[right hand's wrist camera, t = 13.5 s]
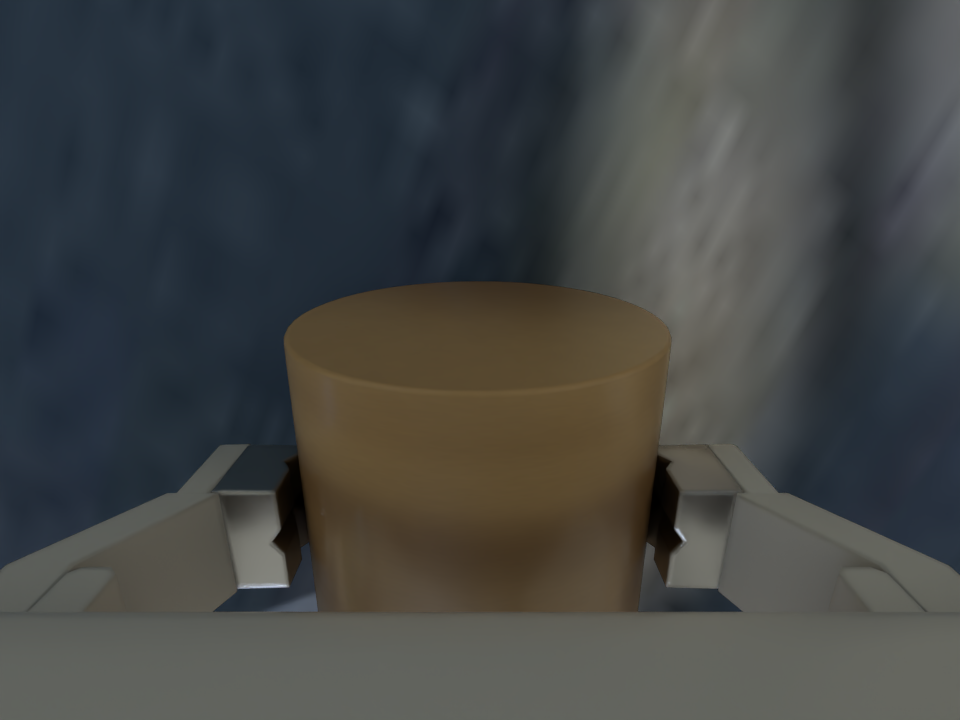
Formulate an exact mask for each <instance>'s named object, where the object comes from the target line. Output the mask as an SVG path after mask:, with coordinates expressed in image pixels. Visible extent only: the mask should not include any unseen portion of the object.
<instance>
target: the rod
mask: <svg viewBox="0 0 960 720" xmlns="http://www.w3.org/2000/svg"><path fill="white" fill-rule="evenodd" d="M284 350H285V358H286V365H287V373H288V381H289V389H290V396H291V404H292V412H293V420H294V428H295V435H296V443H297V451H298V459H299V467H300V474H301V482H302V490H303V498H304V506H305V513H306V521H307V529H308V537H309V545H310V552H311V560H312V568H313V576H314V583H315V591H316V599H317V607H318V612H638V606H639V598H640V590H641V582H642V574H643V566H644V558H645V550H646V542H647V534H648V526H649V518H650V510H651V502H652V494H653V486H654V478H655V470H656V462H657V454H658V446H659V438H660V430H661V422H662V414H663V406H664V398H665V390H666V382H667V374H668V366H669V358H670V350H671V335H670V332H669V330H668V328H667V326H666V325H665V324H664V323H663V322H662V321H661V320H660V319H659V318H658V317H656V316H655V315H653V314H652V313H650V312H648V311H646V310H644V309H643V308H640V307H638V306H635V305H633V304H631V303H628V302H625V301H622V300H619V299H616V298H613V297H609V296H605V295H602V294H598V293H593V292H588V291H584V290H578V289H572V288H566V287H558V286H551V285H541V284H531V283H517V282H491V281H466V282H440V283H425V284H415V285H406V286H398V287H391V288H384V289H379V290H373V291H368V292H363V293H359V294H355V295H351V296H347V297H343V298H340V299H337V300H334V301H331V302H328V303H325V304H323V305H320V306H318V307H316V308H313V309H311V310H310V311H308V312H306V313H304V314H302V315H301V316H300V317H298V318H297V319H295V320H294V321H293V322H292V323H291V324H290V326H289V327H288V329H287V331H286V333H285V336H284Z"/></svg>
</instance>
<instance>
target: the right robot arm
mask: <svg viewBox="0 0 960 720" xmlns="http://www.w3.org/2000/svg"><path fill="white" fill-rule="evenodd" d="M308 542H309V537H308V529H307V521H306V513H305V506H304V498H303V490H302V482H301V474H300V467H299V459H298V451H297V445H251V444H229V445H220V446H219V447H218V448H217V449H216V450H215V451H214V452H213V453H212V454H211V456H210V457H209V458H208V459H207V460H206V461H205V462H204V463H203V464H202V466H201V467H200V468H199V469H198V470H197V471H196V472H195V473H194V474H193V475H192V477H191V478H190V479H189V480H188V481H187V482H186V483H185V484H184V485H183V486H182V488H181V489H180V490H179V491H178V492H177V493H166V494H164V495H162V496H160V497H157V498H155V499H153V500H151V501H148V502H146V503H144V504H142V505H139V506H137V507H135V508H133V509H130V510H128V511H126V512H124V513H121V514H119V515H117V516H115V517H112V518H110V519H108V520H106V521H103V522H101V523H99V524H97V525H94V526H92V527H90V528H88V529H85V530H83V531H81V532H79V533H76V534H74V535H72V536H70V537H68V538H65V539H63V540H61V541H59V542H56V543H54V544H52V545H50V546H47V547H45V548H43V549H41V550H38V551H36V552H34V553H32V554H29V555H27V556H25V557H23V558H20V559H18V560H16V561H14V562H11V563H9V564H7V565H5V566H4V567H3V568H2V569H1V570H0V720H960V575H959V574H958V573H957V572H956V571H955V570H953V569H952V568H951V567H950V566H949V565H947V564H944V563H942V562H940V561H938V560H935V559H933V558H931V557H929V556H927V555H924V554H922V553H920V552H918V551H915V550H913V549H911V548H909V547H907V546H904V545H902V544H900V543H898V542H895V541H893V540H891V539H889V538H887V537H884V536H882V535H880V534H878V533H875V532H873V531H871V530H869V529H867V528H864V527H862V526H860V525H858V524H855V523H853V522H851V521H849V520H847V519H844V518H842V517H840V516H838V515H835V514H833V513H831V512H829V511H827V510H824V509H822V508H820V507H818V506H815V505H813V504H811V503H809V502H807V501H804V500H802V499H800V498H798V497H795V496H793V495H791V494H789V493H778V492H777V491H776V490H775V488H774V487H773V486H772V485H771V484H770V483H769V482H768V481H767V479H766V478H765V477H764V476H763V475H762V474H761V473H760V472H759V470H758V469H757V468H756V467H755V466H754V465H753V464H752V463H751V462H750V460H749V459H748V458H747V457H746V456H745V455H744V454H743V453H742V451H741V450H740V449H739V448H738V447H737V446H735V445H732V444H715V445H706V444H704V445H663V446H658V454H657V462H656V470H655V478H654V486H653V494H652V502H651V510H650V518H649V526H648V534H647V542H648V543H649V544H651V545H652V546H654V547H655V554H654V561H655V563H656V565H657V567H658V570H659V572H660V574H661V576H662V579H663V581H664V583H665V585H666V587H674V588H710V589H718V591H719V592H720V593H721V594H722V595H724V596H725V597H726V598H727V599H728V600H730V601H731V602H732V603H733V604H734V605H736V606H737V607H738V608H739V609H740V610H742V611H743V612H213V611H214V610H215V609H216V608H218V607H219V606H220V605H221V604H222V603H224V602H225V601H226V600H227V599H228V598H230V597H231V596H232V595H233V594H235V593H236V592H237V589H245V588H280V587H290V585H291V582H292V580H293V578H294V576H295V573H296V571H297V569H298V567H299V565H300V562H301V560H302V556H301V547H302V546H304V545H305V544H307V543H308Z"/></svg>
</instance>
